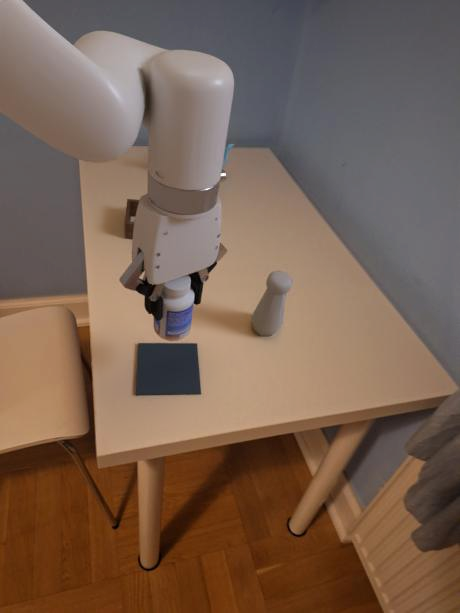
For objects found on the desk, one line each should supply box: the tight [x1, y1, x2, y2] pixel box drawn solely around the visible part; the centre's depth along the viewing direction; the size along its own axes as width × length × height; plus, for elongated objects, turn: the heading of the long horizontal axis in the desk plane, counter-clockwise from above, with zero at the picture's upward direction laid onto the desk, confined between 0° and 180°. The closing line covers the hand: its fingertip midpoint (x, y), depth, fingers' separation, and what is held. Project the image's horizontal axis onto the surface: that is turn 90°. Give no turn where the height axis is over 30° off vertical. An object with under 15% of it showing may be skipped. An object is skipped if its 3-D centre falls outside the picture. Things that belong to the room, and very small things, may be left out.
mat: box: [135, 342, 202, 397], centre depth 66 cm, size 10×10×1 cm
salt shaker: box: [251, 270, 294, 337], centre depth 71 cm, size 6×6×13 cm
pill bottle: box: [152, 275, 195, 342], centre depth 56 cm, size 5×5×10 cm
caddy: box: [124, 198, 140, 240], centre depth 91 cm, size 10×10×4 cm
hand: (173, 304), depth 56 cm, fingers closed on pill bottle, 5 cm apart
